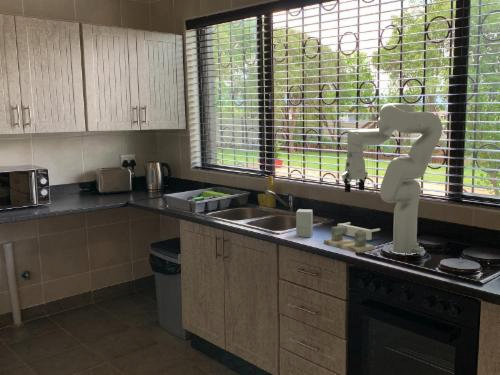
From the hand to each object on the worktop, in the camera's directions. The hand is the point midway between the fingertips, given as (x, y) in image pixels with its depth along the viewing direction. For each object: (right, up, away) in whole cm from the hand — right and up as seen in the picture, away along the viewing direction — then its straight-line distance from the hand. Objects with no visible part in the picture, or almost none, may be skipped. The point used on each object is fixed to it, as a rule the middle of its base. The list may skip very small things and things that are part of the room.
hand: (354, 191), depth 242 cm
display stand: (-6, -25, -17) cm, 30 cm away
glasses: (+3, -22, +4) cm, 23 cm away
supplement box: (-24, -22, +5) cm, 33 cm away
